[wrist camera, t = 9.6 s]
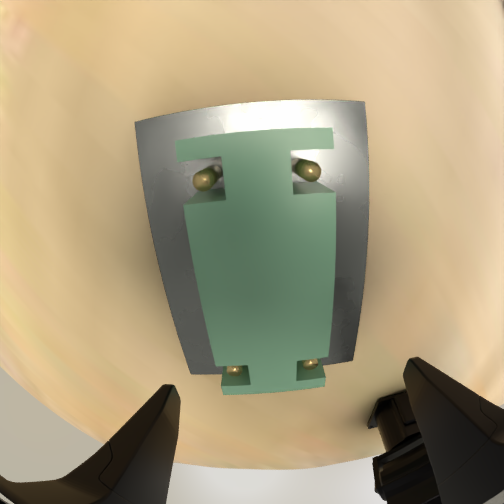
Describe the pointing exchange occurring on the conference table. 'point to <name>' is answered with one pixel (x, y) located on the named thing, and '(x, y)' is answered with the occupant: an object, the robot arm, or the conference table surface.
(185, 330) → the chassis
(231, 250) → the green notched block
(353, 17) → the conference table surface
